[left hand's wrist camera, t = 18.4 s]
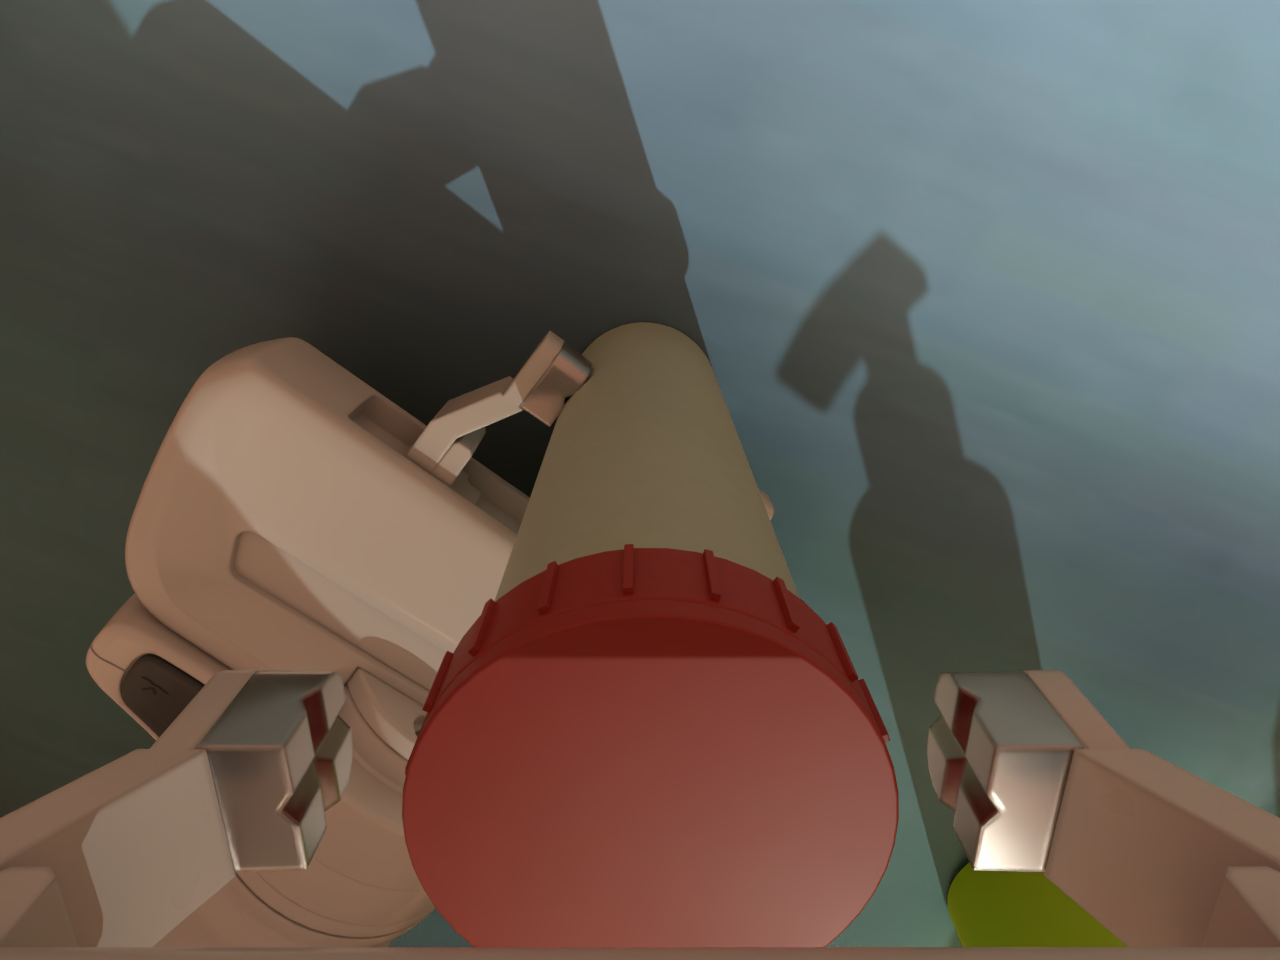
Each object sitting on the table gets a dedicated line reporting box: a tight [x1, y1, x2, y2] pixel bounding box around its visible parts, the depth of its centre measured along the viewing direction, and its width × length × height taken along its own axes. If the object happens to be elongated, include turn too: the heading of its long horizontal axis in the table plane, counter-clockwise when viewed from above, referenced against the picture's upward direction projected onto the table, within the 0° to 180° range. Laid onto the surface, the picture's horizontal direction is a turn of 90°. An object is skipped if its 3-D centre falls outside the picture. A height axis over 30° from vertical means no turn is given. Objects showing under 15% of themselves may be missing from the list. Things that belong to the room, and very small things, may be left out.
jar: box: [495, 322, 799, 602], centre depth 18 cm, size 5×5×19 cm
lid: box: [402, 544, 899, 947], centre depth 10 cm, size 6×6×2 cm
